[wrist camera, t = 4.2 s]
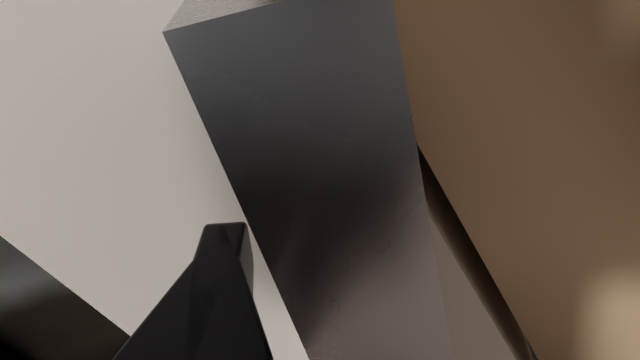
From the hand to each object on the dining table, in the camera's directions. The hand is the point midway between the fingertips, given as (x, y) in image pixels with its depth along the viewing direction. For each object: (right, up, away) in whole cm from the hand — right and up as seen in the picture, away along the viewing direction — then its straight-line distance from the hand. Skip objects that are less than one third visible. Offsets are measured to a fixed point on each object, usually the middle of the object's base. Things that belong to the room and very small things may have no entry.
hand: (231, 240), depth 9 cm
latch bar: (+3, -1, +2) cm, 4 cm away
